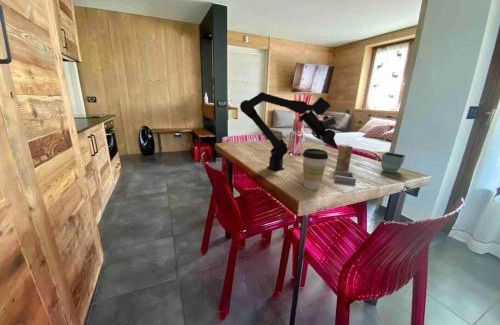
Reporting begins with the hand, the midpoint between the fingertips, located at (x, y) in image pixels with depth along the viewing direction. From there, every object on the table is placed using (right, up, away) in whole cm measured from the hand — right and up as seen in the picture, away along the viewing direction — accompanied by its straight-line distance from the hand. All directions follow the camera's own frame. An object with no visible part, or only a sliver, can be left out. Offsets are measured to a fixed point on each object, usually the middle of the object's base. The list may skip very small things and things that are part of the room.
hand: (332, 145), depth 107 cm
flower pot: (+31, -13, +5) cm, 34 cm away
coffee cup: (-16, -18, -18) cm, 30 cm away
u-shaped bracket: (+2, -16, -8) cm, 18 cm away
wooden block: (+6, -12, +4) cm, 14 cm away
